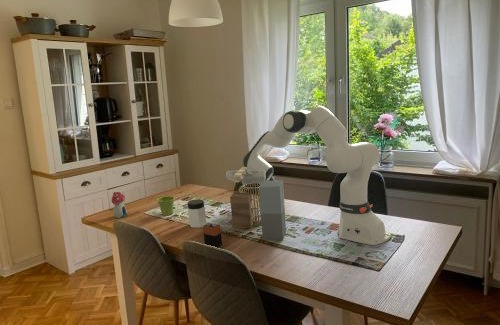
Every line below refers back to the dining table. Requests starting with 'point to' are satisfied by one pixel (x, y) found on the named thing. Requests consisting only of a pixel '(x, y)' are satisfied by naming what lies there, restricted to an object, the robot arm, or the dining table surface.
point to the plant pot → (166, 204)
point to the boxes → (262, 210)
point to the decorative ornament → (119, 205)
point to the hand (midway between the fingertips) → (242, 171)
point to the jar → (196, 213)
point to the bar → (240, 174)
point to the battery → (212, 234)
